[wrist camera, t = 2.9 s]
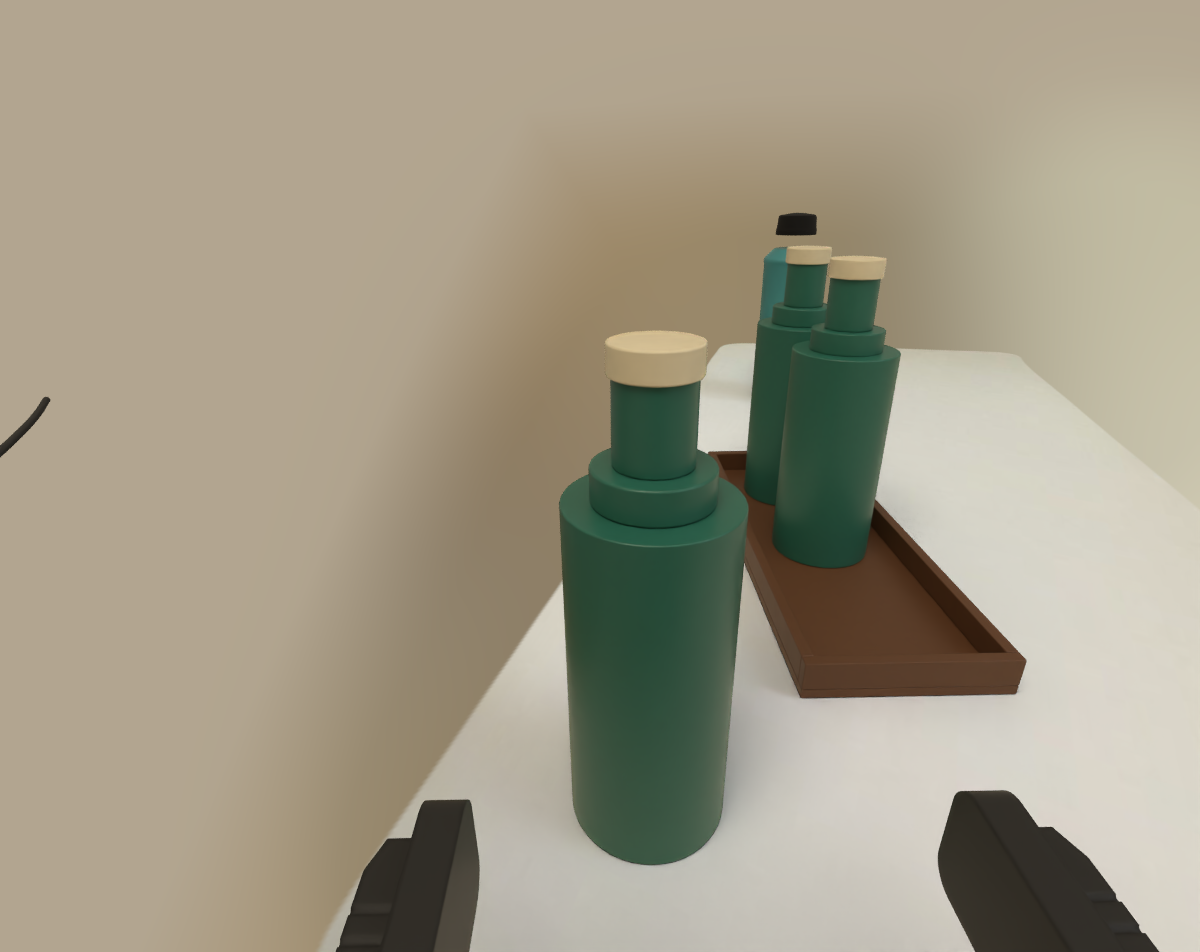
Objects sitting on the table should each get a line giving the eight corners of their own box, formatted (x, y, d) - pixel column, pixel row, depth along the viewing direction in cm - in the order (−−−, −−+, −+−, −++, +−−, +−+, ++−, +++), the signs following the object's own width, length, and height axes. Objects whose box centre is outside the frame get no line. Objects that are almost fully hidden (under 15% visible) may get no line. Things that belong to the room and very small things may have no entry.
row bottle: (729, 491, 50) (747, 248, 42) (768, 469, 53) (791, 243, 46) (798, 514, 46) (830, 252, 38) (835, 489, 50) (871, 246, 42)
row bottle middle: (754, 545, 42) (781, 259, 35) (798, 516, 46) (831, 252, 38) (840, 579, 38) (891, 265, 31) (880, 543, 42) (934, 256, 35)
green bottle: (542, 795, 25) (508, 342, 18) (639, 715, 29) (645, 315, 22) (656, 900, 21) (672, 377, 14) (751, 791, 25) (803, 337, 18)
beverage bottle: (755, 405, 72) (772, 214, 64) (747, 389, 78) (761, 212, 70) (814, 405, 71) (838, 213, 63) (801, 389, 77) (821, 212, 69)
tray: (1016, 694, 30) (1027, 660, 29) (800, 698, 30) (805, 664, 29) (825, 470, 54) (828, 449, 53) (706, 473, 54) (708, 451, 53)
